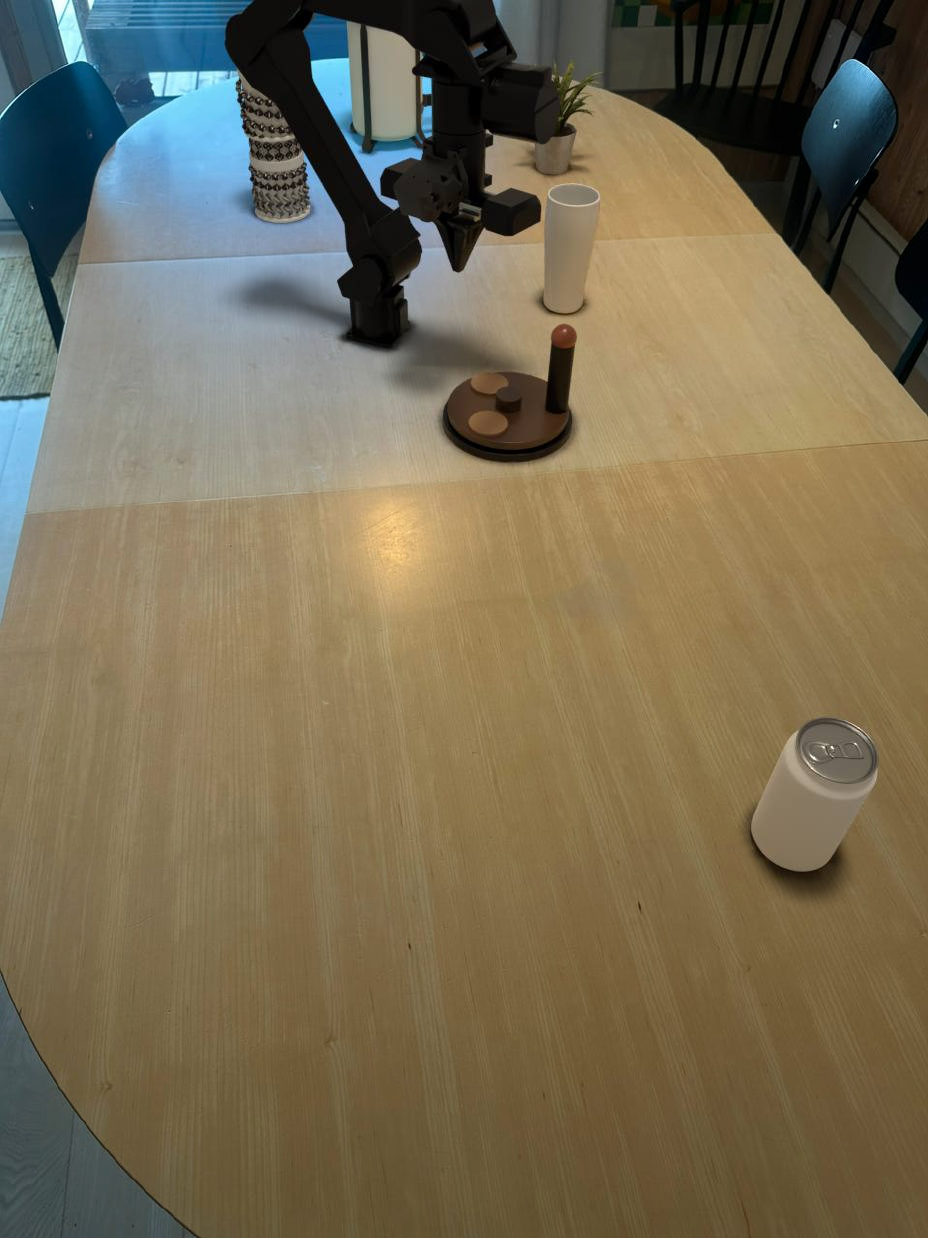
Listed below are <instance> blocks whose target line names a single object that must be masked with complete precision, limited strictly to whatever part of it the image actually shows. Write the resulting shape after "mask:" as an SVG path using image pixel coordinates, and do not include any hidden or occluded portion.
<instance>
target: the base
mask: <svg viewBox="0 0 928 1238" xmlns="http://www.w3.org/2000/svg"><path fill="white" fill-rule="evenodd" d="M447 404H448V400H447V401H446V402H445V405H444V407H443V410H442V411H443V413H442V426H443V429H444V432H445V434H446V435H447V437H448V438H449V439H450V441H451V442H452V443H453V444H454V445H455V446H457V447H458V448H459V449H460V450H462V451H463V452H466V453H467V454H470V455H473V456H474V457H477V458H480V459H484V460H488V461H493V462H501V463H522V462H529V461H534V460H538V459H540V458H545V457H546V456H548V455H551V454H552V453H554V452H556V451H557V450H559V449H560V448H562V447H563V445H564V444H565V443H566V442H567V441H568V439H569V438H570V436H571V433H572V430H573V429H572V428H573V421H574V420H573V414H572V410H571V408H570V407H569V418H568V423H567V425H566V427H565V429H564V430H563V431H562V433H561V434H560V435H558V436H557V437H556V438H554V439H553V440H551V441H549V442H547V443H545V444H543V445H540V446H537V447H533V448H528V449H520V450H503V449H495V448H490V447H486V446H482V445H479V444H476V443H474V442H472V441H470V440H468V439H466V438H465V437H463V436H462V435H461V434H459V433H458V432H457V431H456V430H455V429H454V428H453V426H452V425H451V423H450V421H449V419H448V414H447Z"/></svg>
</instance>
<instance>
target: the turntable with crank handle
mask: <svg viewBox="0 0 928 1238" xmlns="http://www.w3.org/2000/svg"><path fill="white" fill-rule="evenodd" d="M577 341H578V334H577V331H576V329H575V328H574V326H572V325H571V324H568V323H561V324H560V323H559V324H558V325H556V326H555V327H554V328H553V329H552V331H551V333H550V351H549V361H548V370H547V371H548V372H547V373H548V374H547V380H545V379H543V378H540V377H538V376H535V375H532V374H528V373H525V372H523V373H522V372H515V371H493V372H491V371H487V372H480V373H477V374H475V375H474V376H473V377H470V378H468V379H466V380H464V381H462V382H461V383H460V384H458V385H457V386H456V387H455V388H454V389H453V390H452V392H451V393H450V394H449V397H448V399H447V401H448V404H447V414H448V419H449V421H450V423H451V425H452V426H453V428H454V429H455V430H456V431H457V432H458V433H459V434H461V435H462V436H463V437H465V438H466V439H468V440H470V441H472V442H474V443H476V444H479V445H482V446H486V447H490V448H495V449H503V450H520V449H528V448H533V447H537V446H540V445H543V444H545V443H547V442H549V441H551V440H553V439H554V438H556V437H557V436H558V435H560V434H561V433H562V431H563V430H564V429H565V427H566V425H567V423H568V418H569V408H570V405H569V404H570V403H569V401H570V392H571V385H572V384H571V383H572V375H573V369H574V368H573V366H574V360H575V359H574V358H575V351H576V350H575V349H576V343H577Z"/></svg>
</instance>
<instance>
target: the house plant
mask: <svg viewBox="0 0 928 1238" xmlns="http://www.w3.org/2000/svg"><path fill="white" fill-rule="evenodd" d="M552 59H553V69H554V77H552V80H553V81H554V82H555V83H556V85H557V88H558V94H559V97H560V98H561V105H560V113H559V118H558V122H557V126H556V129H555V131H554V134H553V135H552V137H551V139H550V140H549V141H548V142H547V143H546V144H544V145H541V144H536V143H533V144H534V157H535V167H536V170H538V171H539V172H540V173H542V174H546V175H553V176H554V175H561V174H562V175H563V174H564V173H566V172H567V171H568V168H569V164H570V160H571V157H572V151H573V149H574V148H573V147H574V145H575V141H576V136H577V131H578V129H577V128H576V127H577V126H575V125H574V124H572V123H573V121H571V122H568V120H569V119H570V117H571V116H572V115H574V114H576V113H580V116H582V115H583V114H587V115H591V117H594V115H593V113H594V110H588V109H585V108H581V107H584V106H585V105H587V106H588V105H589V104H588V103H586V102H584V100H586V99H587V98H589V97H592V96H593V94H589V92H586V91H585V92H584V91H583V90H584V88H586V87H587V86H588V85H591V84H604V82H601V81H596V80H598V78H595V77H596V76H597V75H600V74H603V73H604V72H605V70H603V71H598V72H595V73H592V74H590V75H589V76H587V77H586V78H584V79H583V80H582V81H581V82H580V83H578V84H576V85H573V86H571V83H572V81H573V79H574V78H573V76H574V75H573V73H574V68H575V63H576V61H574V62H573V58H571V59H570V60H569V63H568V67H567V69H566V70H565V72H564V74H563V76H562V79H561V80H560V74H559V70H558V65H557V63H556V61H555V58H552ZM531 64H532V66H535V65H537V64H536V63H535V62H533V61H531ZM572 90H573V91H572ZM571 91H572V92H571ZM582 91H583V92H582ZM569 92H571V94H570V95H569V96H568V97H567V98H566V96H567V94H568V93H569ZM580 95H584V96H582V97H581V98H579V96H580ZM576 100H577V101H576ZM576 119H578V117H576V118H575V120H576Z"/></svg>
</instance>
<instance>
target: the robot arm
mask: <svg viewBox="0 0 928 1238" xmlns="http://www.w3.org/2000/svg"><path fill="white" fill-rule="evenodd" d="M317 14H318V15H322V16H326V17H329V18H334V19H337V20H341V21H345V22H347V21H349V22H353V23H357V24H361V25H365V26H369V27H373V28H377V29H381V30H385V31H389V32H393V33H395V34H397V35H399V36H401V37H403V38H404V39H405V40H406V41H407V42H408V43H409V44H410V45H411V46H412V47H413V48H414V49H416V50H418V51H420V52H422V54H424V55H423V56H422V59H421V61H420V62H419V63H418V64H417V65H415V66H414V67H413V68H412V73H413V75H415V76H421V77H422V78H427V79H430V80H431V81H430V87H431V89H430V90H431V91H430V94H431V103H432V106H431V135H430V136H427V137H426V138H425V139H424V144H423V143H422V144H423V146H422V148H421V149H422V152H421V153H422V154H421V158H420V159H417V158H414V157H408V158H406V159H403V160H401V161H399V162H396V163H393V164H391V165H389V166H387V167H384V169H383V170H382V172H381V175H380V177H379V187H380V188H379V189H380V191H379V192H380V196H381V197H385V198H387V199H391V200H394V201H397V204H398V206H397V207H396V208H395V209H393V208H392V207H390V206H389V205H387V204H386V203H385V202H383V201H382V200H381V199H380V198H379V196H378V194H377V193H376V191H375V189H374V187H373V185H372V184H371V182H370V180H369V178H368V177H367V175H366V173H365V171H364V169H363V168H362V166H361V164H360V163H359V161H358V159H357V157H356V155H355V153H354V152H353V150H352V148H351V146H350V144H349V142H348V140H347V139H346V137H345V135H344V134H343V132H342V130H341V128H340V127H339V124H338V122H337V120H336V118H335V117H334V115H333V114H332V112H331V110H330V108H329V106H328V104H327V103H326V101H325V99H324V97H323V96H322V93H321V92H320V90H319V88H318V86H317V85H316V82H315V81H314V78H313V68H312V66H313V65H312V55H311V48H310V45H309V43H308V40H307V38H306V36H305V35H306V34H305V33H304V32H305V31H306V30H307V29H308V27H309V26H310V25H311V23H313V21H314V20H315V17H316V15H317ZM224 35H225V39H224V41H223V44H224V48H225V50H226V53H227V55H228V57H229V59H230V60H231V62H232V63H233V65H234V66H235V67H236V69H237V68H238V70H239V71H240V72H241V74H242V75H243V77H244V78H245V79H246V81H247V82H248V83H249V85H250V86H252V87H253V88H254V89H256V90H257V91H259V92H260V93H262V94H263V95H264V96H266V97H267V98H269V99H270V100H271V101H273V102H274V103H275V104H276V106H277V107H278V109H279V110H280V112H281V114H282V116H283V117H284V119H285V121H286V122H287V124H288V126H289V128H290V129H291V131H292V133H293V135H294V136H295V138H296V140H297V142H298V143H299V145H300V147H301V149H302V150H303V155H304V156H305V157H306V160H307V161H308V162H309V165H310V166H311V168H312V169H313V172H314V173H315V174H316V176H317V178H318V180H319V182H320V183H321V185H322V187H323V188H324V190H325V192H326V193H327V195H328V197H329V198H330V201H331V202H332V205H333V206H334V208H335V210H336V212H337V213H338V215H339V216H340V218H341V220H342V222H343V225H344V237H345V250H346V253H347V255H348V258H349V260H350V262H351V265H352V266H351V267H350V268H349V269H348V270H347V271H345V273H343V274H342V275H341V276H340V277H339V278H338V279H336V283H337V286H338V289H339V292H340V294H341V297H343V298H345V299H348V301H349V316H350V328H349V329H348V330H347V332H346V333H345V338H346V339H347V340H348V339H349V340H352V341H356V342H362V343H366V344H368V345H369V344H370V345H374V346H378V347H382V348H387V349H391V348H393V347H394V346H395V344H397V342H398V341H399V340H400V339H401V337H403V335H404V334H405V333H406V332H407V330H408V329H409V327H410V326H411V321H410V320H409V301H408V299H407V298H405V286H404V285H401V284H402V283H403V282H405V281H406V280H408V279H409V278H410V277H411V274H412V272H413V271H414V270H415V269H417V268H418V267H419V265H420V264H421V259H422V254H423V247H422V244H421V241H420V239H419V238H420V237H421V236H422V234H421V233H420V231H418V230H417V229H416V228H415V225H414V224H413V223H412V221H411V218H410V217H412V218H415V219H418V220H420V221H421V222H422V223H428V224H429V223H433V224H434V225H435V228H436V230H437V232H438V233H439V236H440V238H441V241H442V244H443V247H444V250H445V253H446V256H447V259H448V261H449V264H450V267H451V270H452V272H455V273H457V274H459V273H462V272H463V271H464V270H465V268H466V266H467V263H468V261H469V259H470V257H471V255H472V254H473V251H474V249H475V247H476V244H477V242H478V241H479V238H480V236H481V234H482V233H483V231H484V229H485V231H487V232H490V233H494V234H496V235H500V236H503V237H514V236H516V235H518V234H520V233H521V232H524V231H525V230H527V229H529V228H531V227H533V226H535V225H536V224H539V223H541V221H542V203H541V200H540V199H539V197H538V196H537V194H533V193H530V192H527V191H523V190H520V189H516V188H513V187H509V188H507V189H505V190H503V191H501V192H499V193H497V194H496V193H494V192H490V191H487V190H485V189H486V188H488V187H490V186H492V185H493V174H490V173H487V172H486V155H487V154H486V153H487V152H486V151H487V149H488V148H489V147H492V146H494V136H497V137H500V138H501V137H502V138H507V139H512V140H517V141H521V142H527V143H531V144H534V143H536V144H541V145H544V144H546V143H547V142H548V141H549V140H550V139H551V137H552V135H553V134H554V131H555V129H556V126H557V122H558V118H559V113H560V105H561V98H560V97H559V94H558V88H557V85H556V83H555V82H554V80H553V68H552V67H551V66H549V65H545V64H536V65H535V66H533V65H530V64H524V63H518V62H515V61H516V60H517V59H518V53H517V51H516V49H515V48H514V46H513V43H512V42H511V40H510V38H509V36H508V34H507V32H506V31H505V29H504V26H503V25H502V23H501V21H500V19H499V17H498V15H497V10H496V7H495V4H494V0H253V1H252V2H251V3H250V4H249V5H247V6H246V8H244V10H243V11H241V12H238V13H236V14H234V15H232V16H230V18H229V19H228V21H227V22H226V26H225V29H224ZM482 46H483V47H484V48H485V51H483V52H481V53H479V54H478V55H476V56H475V57H474V55H473V53H472V52H473V51H475V50H477V49H478V48H480V47H482ZM487 131H488V132H489V133H488V132H487Z"/></svg>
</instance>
